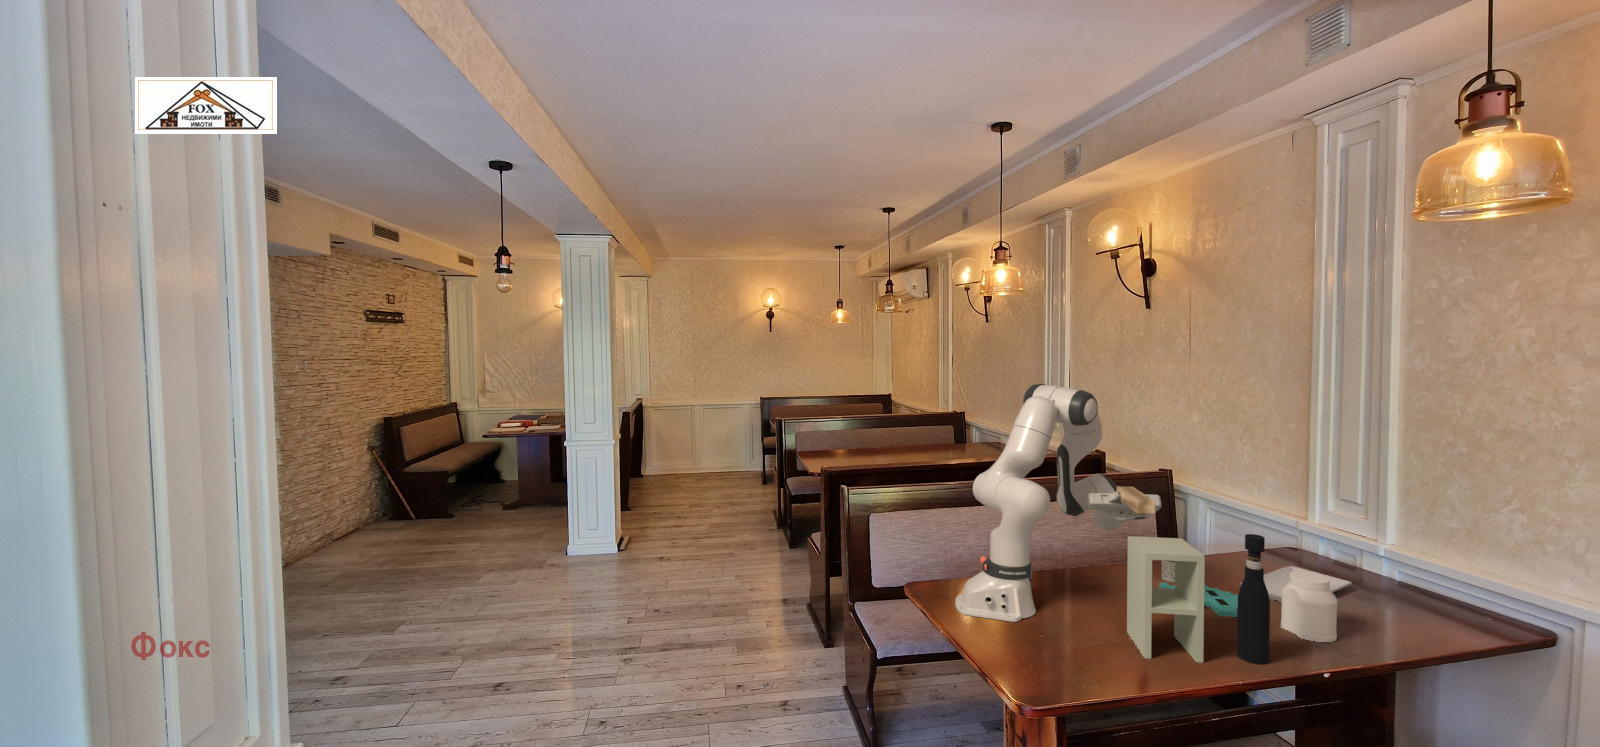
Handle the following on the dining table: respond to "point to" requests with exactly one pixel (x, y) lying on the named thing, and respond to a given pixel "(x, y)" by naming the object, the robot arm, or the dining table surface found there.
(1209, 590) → the alien figure
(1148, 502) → the block
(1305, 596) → the jar
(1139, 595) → the shelf stand
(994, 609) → the robot arm
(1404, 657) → the dining table surface
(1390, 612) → the dining table surface
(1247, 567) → the wine bottle
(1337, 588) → the tray
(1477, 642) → the dining table surface
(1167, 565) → the grey speckled cup
